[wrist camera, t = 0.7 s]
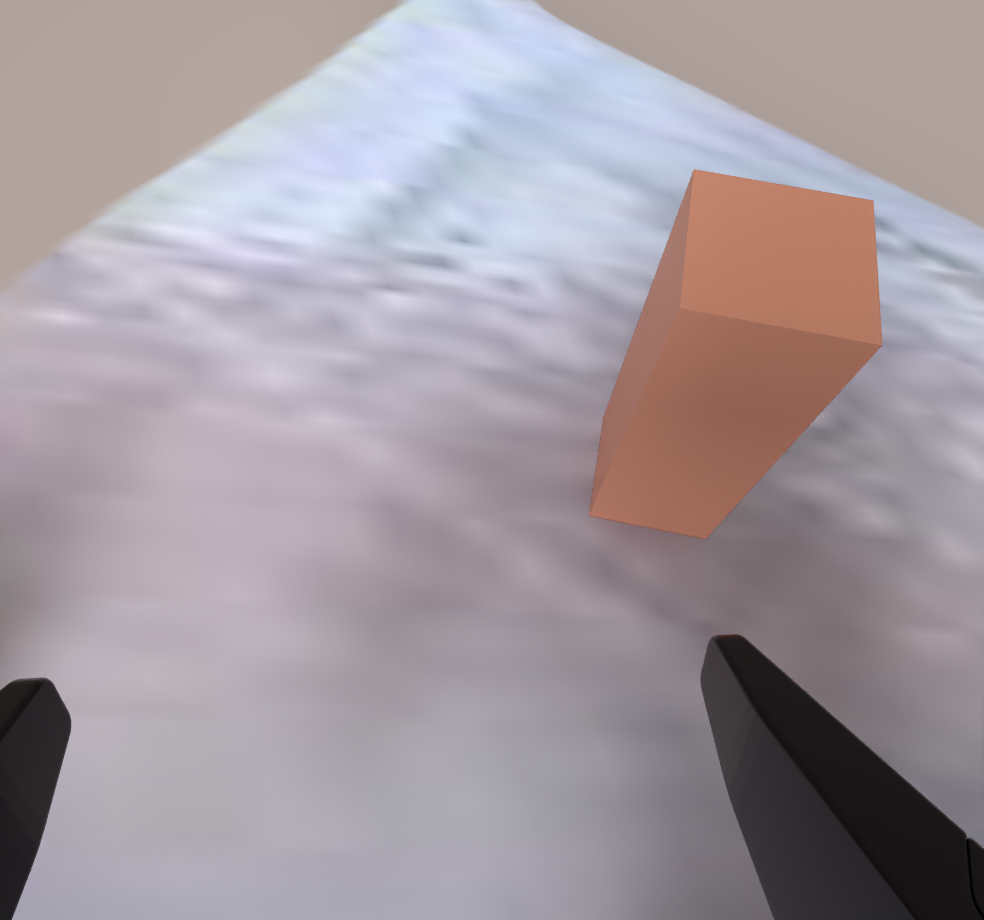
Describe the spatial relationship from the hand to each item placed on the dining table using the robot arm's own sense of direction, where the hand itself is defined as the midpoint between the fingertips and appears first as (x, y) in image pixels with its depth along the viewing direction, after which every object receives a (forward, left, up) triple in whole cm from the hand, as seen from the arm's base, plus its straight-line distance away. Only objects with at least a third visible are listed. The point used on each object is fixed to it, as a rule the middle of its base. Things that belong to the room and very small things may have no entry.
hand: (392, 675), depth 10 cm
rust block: (+4, -13, -15) cm, 20 cm away
